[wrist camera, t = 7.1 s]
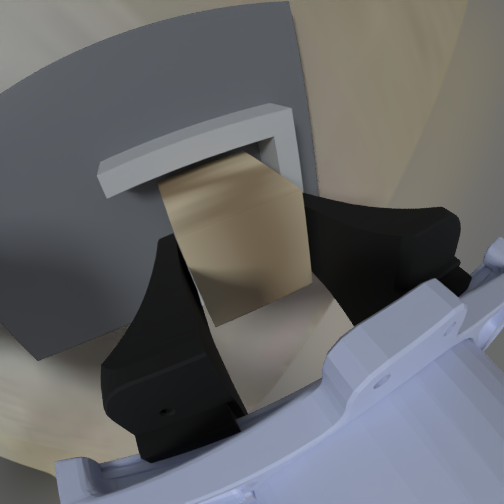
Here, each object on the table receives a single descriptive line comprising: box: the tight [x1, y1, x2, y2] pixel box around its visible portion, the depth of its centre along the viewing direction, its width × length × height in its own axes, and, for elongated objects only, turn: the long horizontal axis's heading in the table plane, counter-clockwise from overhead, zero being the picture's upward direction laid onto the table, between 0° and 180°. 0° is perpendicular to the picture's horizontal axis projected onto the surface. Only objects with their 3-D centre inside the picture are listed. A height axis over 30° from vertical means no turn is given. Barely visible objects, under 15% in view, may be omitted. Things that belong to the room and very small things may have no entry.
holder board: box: [0, 1, 318, 361], centre depth 12 cm, size 20×14×3 cm
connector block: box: [157, 151, 312, 327], centre depth 12 cm, size 4×4×5 cm
